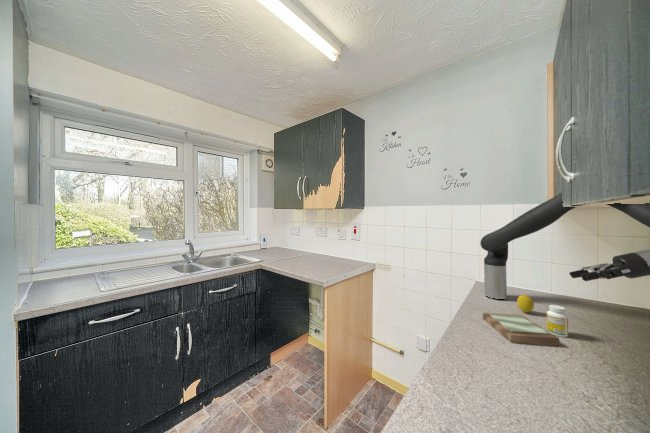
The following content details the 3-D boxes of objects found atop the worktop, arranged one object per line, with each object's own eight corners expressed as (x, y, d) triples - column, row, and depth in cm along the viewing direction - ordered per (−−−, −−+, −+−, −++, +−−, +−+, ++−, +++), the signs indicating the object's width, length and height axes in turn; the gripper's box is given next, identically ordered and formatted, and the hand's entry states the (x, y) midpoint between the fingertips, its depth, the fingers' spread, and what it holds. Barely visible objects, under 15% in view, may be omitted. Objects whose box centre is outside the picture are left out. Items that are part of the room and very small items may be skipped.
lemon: (534, 316, 94) (534, 297, 94) (517, 313, 98) (517, 295, 98) (533, 312, 99) (532, 294, 99) (516, 309, 102) (516, 291, 102)
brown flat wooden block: (482, 318, 93) (482, 311, 93) (521, 321, 91) (521, 313, 91) (510, 342, 75) (510, 333, 75) (559, 346, 73) (559, 336, 73)
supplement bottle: (559, 338, 78) (558, 310, 78) (542, 330, 83) (542, 304, 83) (573, 337, 78) (572, 309, 78) (555, 329, 84) (555, 303, 84)
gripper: (619, 251, 79) (561, 265, 86) (650, 252, 67) (579, 267, 74) (633, 272, 77) (573, 284, 84) (668, 277, 65) (593, 290, 72)
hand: (576, 276), depth 79 cm, fingers open, 8 cm apart
